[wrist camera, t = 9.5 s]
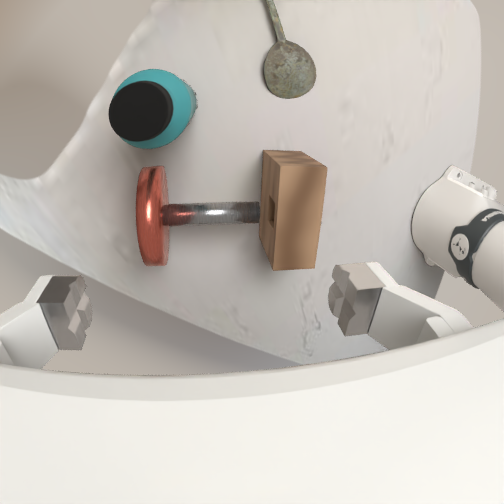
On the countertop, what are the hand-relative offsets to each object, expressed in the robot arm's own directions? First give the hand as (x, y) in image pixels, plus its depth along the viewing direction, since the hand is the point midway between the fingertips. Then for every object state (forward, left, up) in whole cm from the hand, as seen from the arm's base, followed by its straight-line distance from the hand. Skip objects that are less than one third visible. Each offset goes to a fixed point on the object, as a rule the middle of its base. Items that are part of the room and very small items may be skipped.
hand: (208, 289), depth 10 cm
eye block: (-10, +7, -31) cm, 33 cm away
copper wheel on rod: (0, +7, -30) cm, 31 cm away
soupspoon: (-8, -16, -32) cm, 37 cm away
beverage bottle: (+4, -5, -31) cm, 32 cm away
